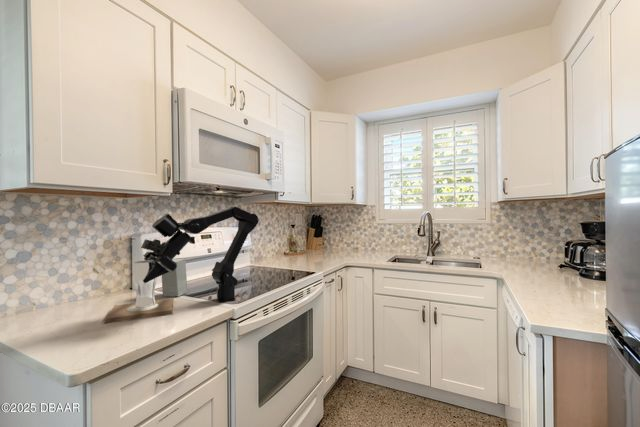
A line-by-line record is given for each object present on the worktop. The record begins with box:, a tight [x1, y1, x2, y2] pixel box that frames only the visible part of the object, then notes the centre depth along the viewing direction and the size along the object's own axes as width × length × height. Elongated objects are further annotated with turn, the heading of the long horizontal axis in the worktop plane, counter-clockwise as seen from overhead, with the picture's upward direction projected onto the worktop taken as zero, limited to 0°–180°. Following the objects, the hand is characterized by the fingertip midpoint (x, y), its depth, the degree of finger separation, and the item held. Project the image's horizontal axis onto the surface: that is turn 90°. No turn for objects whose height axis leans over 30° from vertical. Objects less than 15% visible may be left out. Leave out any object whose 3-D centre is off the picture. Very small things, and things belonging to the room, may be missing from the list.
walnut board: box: [104, 298, 175, 324], centre depth 106 cm, size 20×16×2 cm
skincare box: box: [161, 258, 188, 297], centre depth 129 cm, size 8×7×16 cm
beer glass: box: [132, 260, 157, 308], centre depth 99 cm, size 7×7×15 cm
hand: (140, 280), depth 98 cm, fingers closed on beer glass, 7 cm apart
